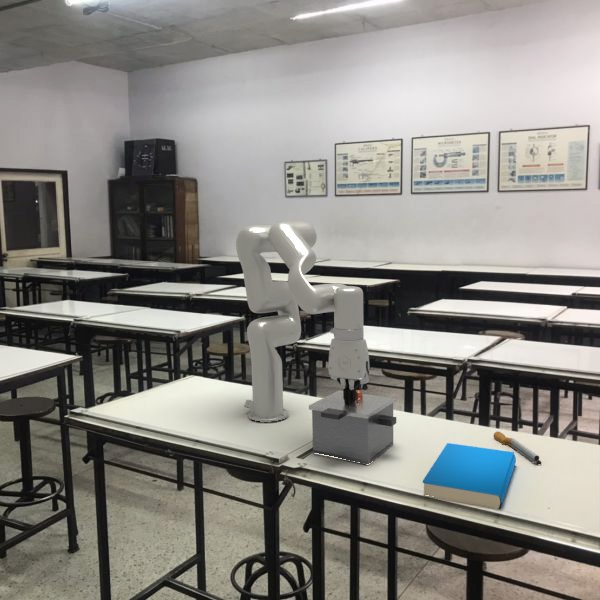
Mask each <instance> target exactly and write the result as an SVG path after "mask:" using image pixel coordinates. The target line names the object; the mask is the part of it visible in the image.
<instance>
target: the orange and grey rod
mask: <svg viewBox="0 0 600 600" xmlns="http://www.w3.org/2000/svg"><path fill="white" fill-rule="evenodd" d="M493 438H494V440H495V441H497V442H499V443H501V444H502V445H507V446H510V447H511V448H512V449H514V450H515V451H517V452H518V453H519V454H521V455H522V456H524V457H525V458H526V457H527V459H528V460H529V461H531V462H532V463H534V465H536V466H539V465H538V464H541V465H542V461H541V460H540V456H539V455H538V454H536V453H535V452H533V451H532V450H530V448H528V447H526V446H525V445H523V444H522V443H520V442H519V441H518V440H516V439H515V438H512V437H506V436H505V434H504V433H503V432H501V431H496V432H494V433H493Z"/></svg>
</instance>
